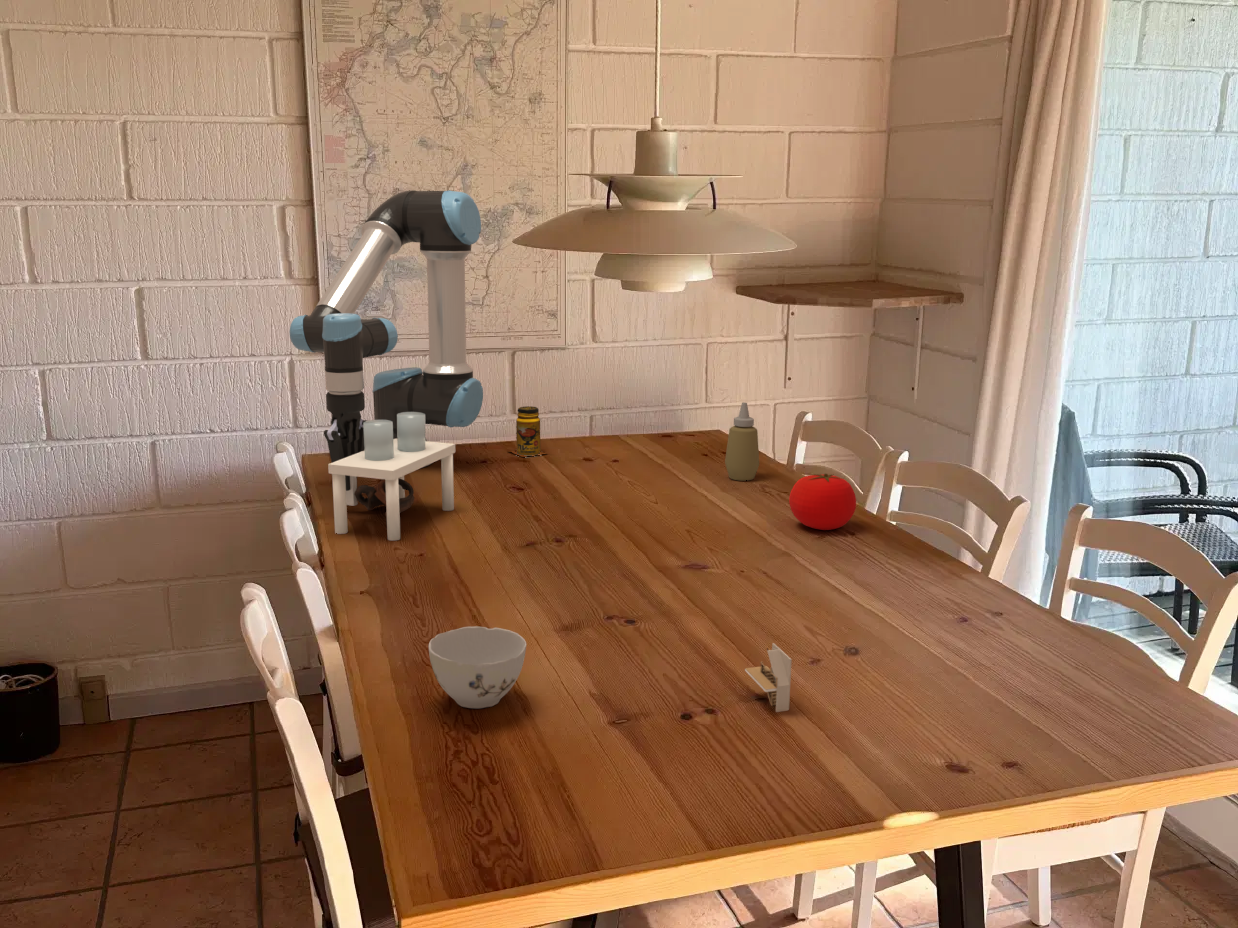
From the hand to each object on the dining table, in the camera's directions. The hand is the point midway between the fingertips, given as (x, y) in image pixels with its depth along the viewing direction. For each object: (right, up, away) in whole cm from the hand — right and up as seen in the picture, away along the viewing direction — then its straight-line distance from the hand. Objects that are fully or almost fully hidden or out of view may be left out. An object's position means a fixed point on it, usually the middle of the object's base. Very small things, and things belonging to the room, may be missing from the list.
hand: (350, 504), depth 229 cm
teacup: (+37, -22, -83) cm, 94 cm away
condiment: (+32, +11, +55) cm, 64 cm away
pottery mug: (+7, -2, 0) cm, 7 cm away
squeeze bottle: (+84, +5, +32) cm, 90 cm away
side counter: (+11, -3, -5) cm, 12 cm away
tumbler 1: (+9, +10, -12) cm, 17 cm away
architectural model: (+76, -23, -84) cm, 115 cm away
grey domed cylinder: (+13, +11, -4) cm, 18 cm away
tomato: (+96, -5, -6) cm, 96 cm away
